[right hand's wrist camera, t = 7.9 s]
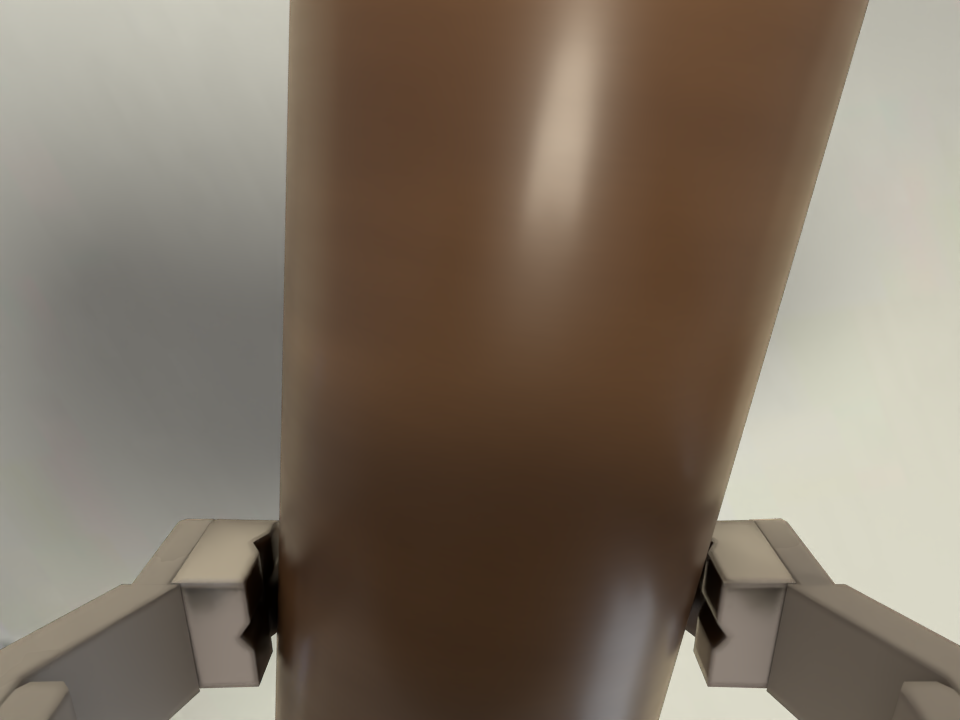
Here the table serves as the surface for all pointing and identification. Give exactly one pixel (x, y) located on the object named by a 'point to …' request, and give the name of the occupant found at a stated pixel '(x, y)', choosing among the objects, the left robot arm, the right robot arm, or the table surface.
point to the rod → (527, 335)
